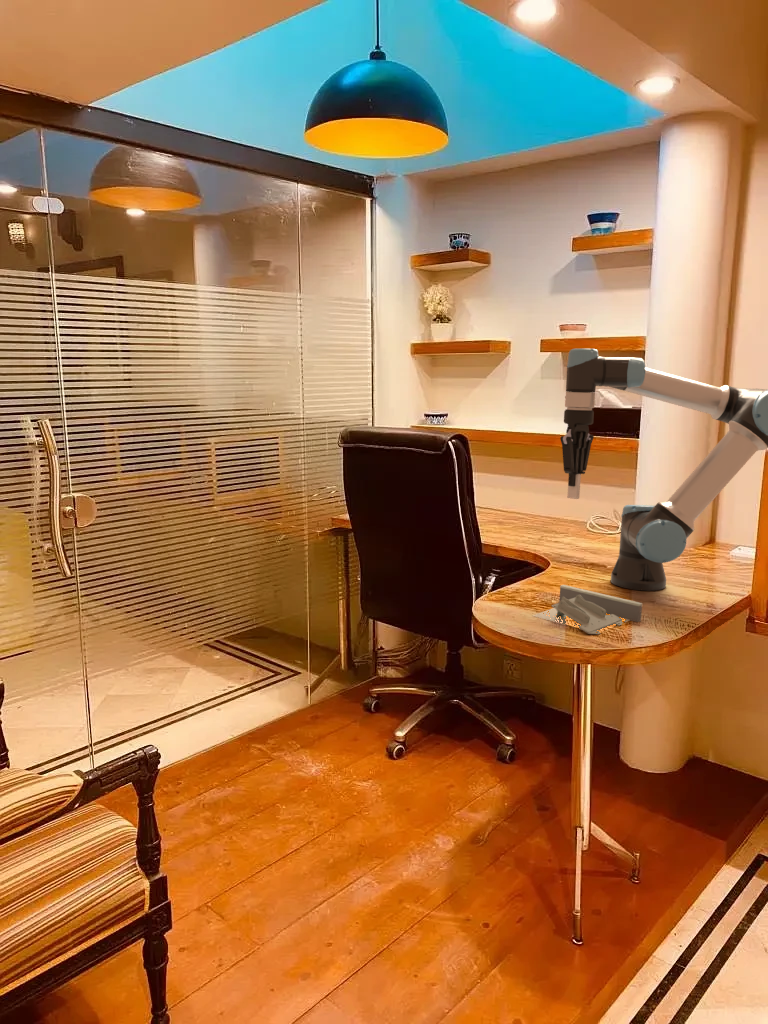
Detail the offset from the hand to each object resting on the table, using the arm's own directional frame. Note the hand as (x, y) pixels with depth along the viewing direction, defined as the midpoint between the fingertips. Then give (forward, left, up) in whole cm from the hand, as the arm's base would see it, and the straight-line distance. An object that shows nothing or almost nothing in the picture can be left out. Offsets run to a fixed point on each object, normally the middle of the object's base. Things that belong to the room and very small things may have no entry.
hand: (573, 498), depth 208 cm
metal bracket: (+19, +16, -27) cm, 36 cm away
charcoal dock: (+15, +14, -26) cm, 33 cm away
